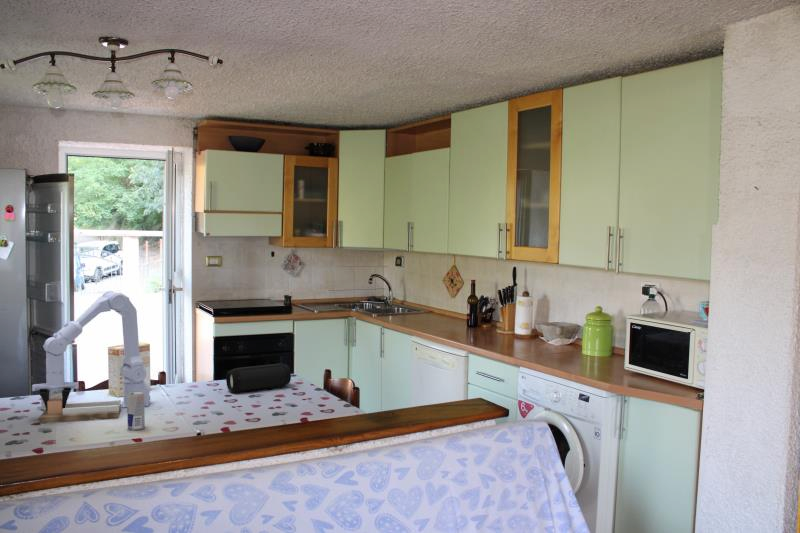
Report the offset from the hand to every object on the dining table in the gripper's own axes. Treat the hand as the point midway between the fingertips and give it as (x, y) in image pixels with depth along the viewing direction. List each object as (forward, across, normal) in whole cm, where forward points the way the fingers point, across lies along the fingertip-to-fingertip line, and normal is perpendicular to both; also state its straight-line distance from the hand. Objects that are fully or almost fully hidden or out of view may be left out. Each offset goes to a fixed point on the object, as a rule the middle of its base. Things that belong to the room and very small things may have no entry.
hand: (55, 409), depth 242 cm
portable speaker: (+3, +73, +26) cm, 78 cm away
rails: (+1, +12, 0) cm, 12 cm away
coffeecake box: (+3, +22, +33) cm, 40 cm away
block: (+1, 0, 0) cm, 1 cm away
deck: (+3, +8, 0) cm, 9 cm away
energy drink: (+3, +28, -20) cm, 34 cm away
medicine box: (+3, -3, +15) cm, 16 cm away
